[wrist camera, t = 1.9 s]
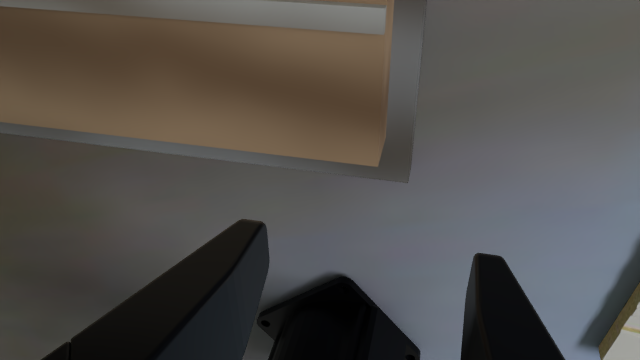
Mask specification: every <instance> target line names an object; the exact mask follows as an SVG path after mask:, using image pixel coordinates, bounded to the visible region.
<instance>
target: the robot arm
mask: <svg viewBox="0 0 640 360" xmlns="http://www.w3.org/2000/svg"><path fill="white" fill-rule="evenodd" d="M268 268H269V248H268V237H267V228H266V225H265V224H264V223H263V222H261V221H254V220H247V219H241V220H239V221H237V222H236V223H234V224H233V225H231V226H230V227H229V228H227V229H226V230H224V231H223V232H222V233H220V234H219V235H217V236H216V237H214V238H213V239H212V240H210V241H209V242H207V243H206V244H205V245H203V246H202V247H200V248H199V249H197V250H196V251H195V252H193V253H192V254H190V255H189V256H188V257H186V258H185V259H183V260H182V261H180V262H179V263H178V264H176V265H175V266H173V267H172V268H171V269H169V270H168V271H166V272H165V273H163V274H162V275H161V276H159V277H158V278H156V279H155V280H154V281H152V282H151V283H149V284H148V285H146V286H145V287H144V288H142V289H141V290H139V291H138V292H137V293H135V294H134V295H132V296H131V297H130V298H128V299H127V300H125V301H124V302H122V303H121V304H120V305H118V306H117V307H115V308H114V309H113V310H111V311H110V312H108V313H107V314H105V315H104V316H103V317H101V318H100V319H98V320H97V321H96V322H94V323H93V324H91V325H90V326H88V327H87V328H86V329H84V330H83V331H81V332H80V333H79V334H77V335H76V336H74V337H73V338H72V339H71V343H70V342H66V343H64V344H63V345H61V346H60V347H58V348H57V349H56V350H54V351H53V352H51V353H50V354H49V355H47V356H46V357H44V358H43V359H41V360H242V357H243V355H244V352H245V349H246V346H247V342H248V339H249V336H250V332H251V329H252V325H253V322H254V318H255V315H256V311H257V308H258V304H259V301H260V297H261V294H262V290H263V287H264V283H265V280H266V276H267V273H268ZM342 286H344V287H346V288H344V287H342ZM257 324H258V325H259V327H261V328H262V329H263V330H264V331H265V332H266V333H267V334H268V335H269V336H270V337H271V338H273V339H274V340H275V342H274V345H273V347H272V350H271V353H270V356H269V358H268V360H420V350H419V349H418V348H417V347H416V346H415V344H414V343H413V342H412V341H411V340H410V339H409V338H408V337H407V336H406V335H405V334H404V333H403V332H402V331H401V330H400V329H399V328H398V327H397V326H396V325H395V324H394V323H393V322H392V321H391V320H390V319H389V318H388V316H387V315H386V314H385V313H384V312H383V311H382V310H381V309H380V308H379V307H378V306H377V305H376V304H375V303H374V302H373V301H372V300H371V299H370V298H369V297H368V296H367V295H366V294H365V293H364V292H363V291H362V290H361V289H360V287H359V286H358V285H357V284H356V283H355V282H354V281H353V280H351V279H350V278H347V277H339V278H337V279H335V280H332V281H330V282H328V283H326V284H323V285H321V286H319V287H317V288H315V289H312V290H310V291H308V292H306V293H303V294H301V295H299V296H297V297H294V298H292V299H290V300H288V301H285V302H283V303H281V304H279V305H276V306H274V307H272V308H270V309H267V310H265V311H263V312H261V313H260V314H259V317H258V319H257ZM461 360H565V359H564V357H563V355H562V354H561V352H560V350H559V349H558V347H557V345H556V344H555V342H554V340H553V339H552V337H551V336H550V334H549V332H548V331H547V329H546V327H545V326H544V324H543V322H542V321H541V319H540V317H539V316H538V314H537V313H536V311H535V309H534V308H533V306H532V304H531V303H530V301H529V299H528V298H527V296H526V295H525V293H524V291H523V290H522V288H521V286H520V285H519V283H518V281H517V280H516V278H515V276H514V275H513V273H512V272H511V270H510V268H509V267H508V265H507V263H506V262H505V260H504V259H503V258H502V257H501V256H497V255H490V254H483V253H477V254H475V256H474V258H473V262H472V267H471V272H470V277H469V282H468V287H467V293H466V300H465V312H464V324H463V337H462V349H461Z"/></svg>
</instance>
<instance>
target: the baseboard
mask: <svg viewBox="0 0 640 360" xmlns="http://www.w3.org/2000/svg"><path fill="white" fill-rule="evenodd" d="M599 353H600V358H601V360H640V282H639V284H638V286H637V287H636V289H635V290H634V292H633V293H632V295H631V297H630V298H629V300H628V301H627V303H626V304H625V306H624V308H623V309H622V311H621V312H620V314H619V315H618V317H617V318H616V320H615V322H614V323H613V325H612V326H611V328H610V329H609V331H608V333H607V334H606V336H605V337H604V339H603V340H602V342H601V344H600V345H599Z"/></svg>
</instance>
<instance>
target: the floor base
mask: <svg viewBox="0 0 640 360" xmlns="http://www.w3.org/2000/svg"><path fill="white" fill-rule="evenodd" d="M426 3H427V0H0V133H6V134H14V135H22V136H30V137H38V138H46V139H55V140H63V141H71V142H79V143H87V144H95V145H103V146H111V147H119V148H128V149H136V150H144V151H152V152H160V153H168V154H176V155H184V156H192V157H201V158H209V159H217V160H225V161H233V162H241V163H249V164H257V165H265V166H274V167H282V168H290V169H298V170H306V171H314V172H322V173H330V174H338V175H347V176H355V177H363V178H371V179H379V180H387V181H395V182H403V183H408V181H409V175H410V170H411V160H412V149H413V139H414V129H415V118H416V108H417V97H418V87H419V76H420V66H421V55H422V45H423V34H424V24H425V13H426Z"/></svg>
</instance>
